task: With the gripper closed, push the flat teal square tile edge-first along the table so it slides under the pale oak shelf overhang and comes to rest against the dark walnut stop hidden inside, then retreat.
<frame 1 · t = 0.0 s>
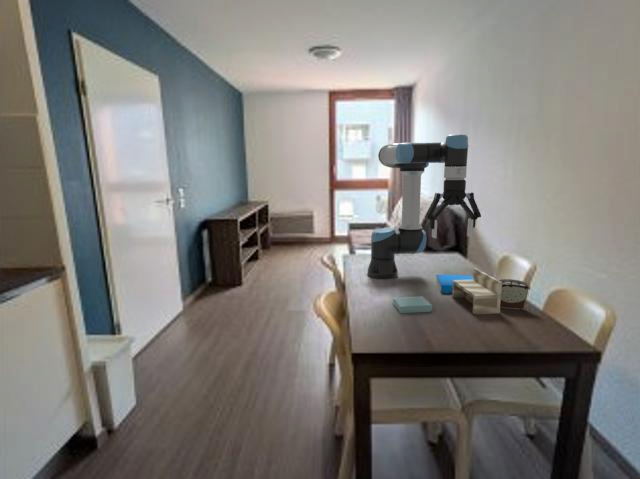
hand: (451, 237, 142), 28 cm above the table, fingers open, 13 cm apart
teal square tile: (411, 308, 149), on the table
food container: (509, 306, 150), on the table
shelf: (473, 304, 151), on the table
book: (467, 289, 172), on the table
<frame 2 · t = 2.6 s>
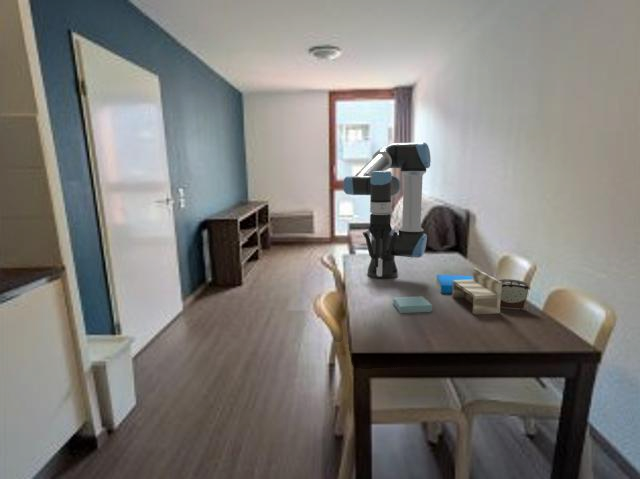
hand: (379, 275, 145), 14 cm above the table, fingers closed
nothing on the table moved.
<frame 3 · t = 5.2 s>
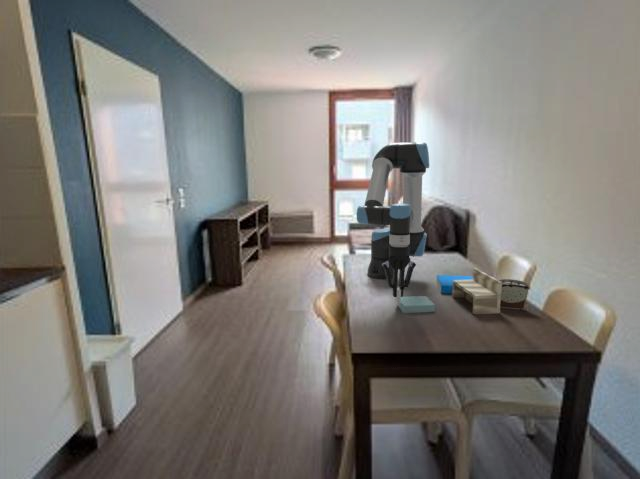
hand: (397, 304, 149), 1 cm above the table, fingers closed
teal square tile: (414, 308, 149), on the table
everything else where it was.
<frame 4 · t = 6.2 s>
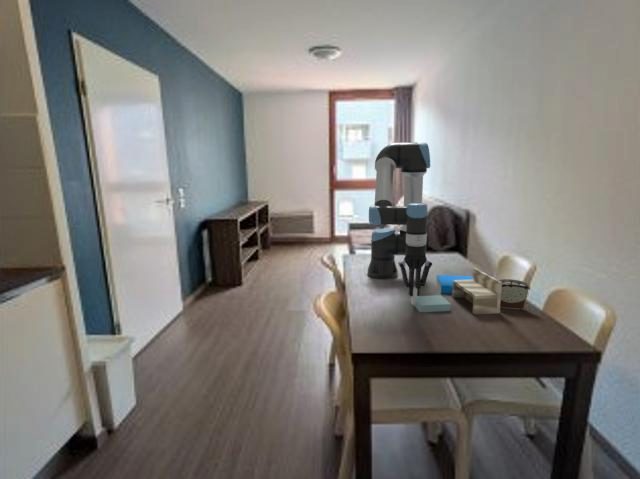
hand: (413, 303, 149), 1 cm above the table, fingers closed
teal square tile: (430, 307, 150), on the table, touching gripper
everything else where it was.
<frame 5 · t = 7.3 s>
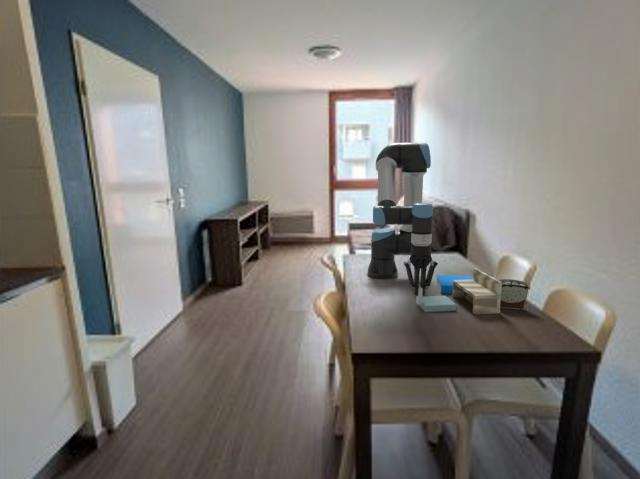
hand: (418, 303, 149), 1 cm above the table, fingers closed
teal square tile: (435, 307, 150), on the table
everything else where it was.
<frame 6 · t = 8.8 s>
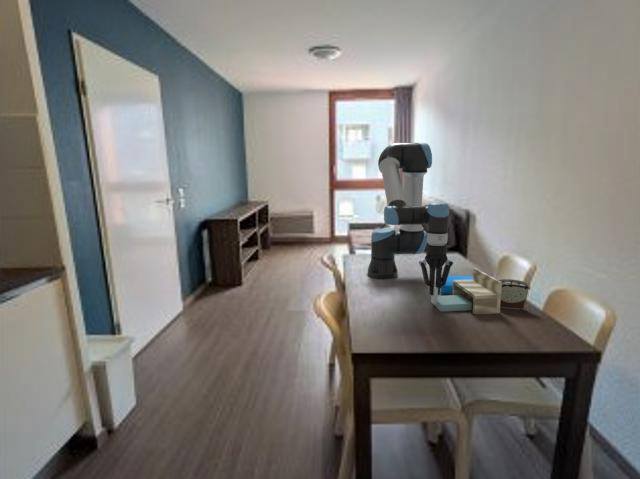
hand: (434, 302, 150), 1 cm above the table, fingers closed
teal square tile: (450, 307, 150), on the table, touching gripper
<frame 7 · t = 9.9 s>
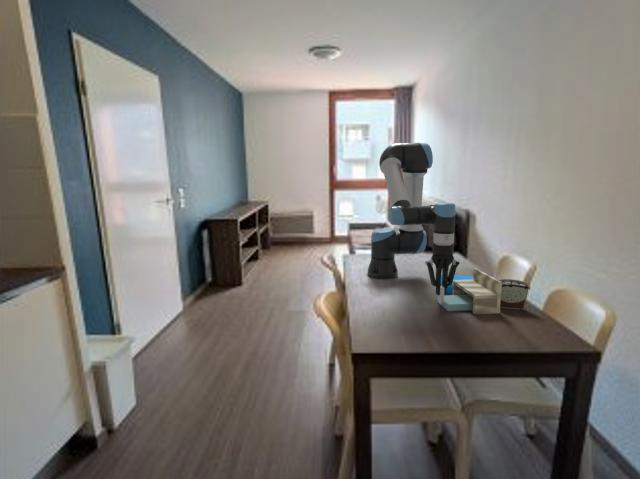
hand: (440, 302, 150), 1 cm above the table, fingers closed
teal square tile: (457, 306, 150), on the table
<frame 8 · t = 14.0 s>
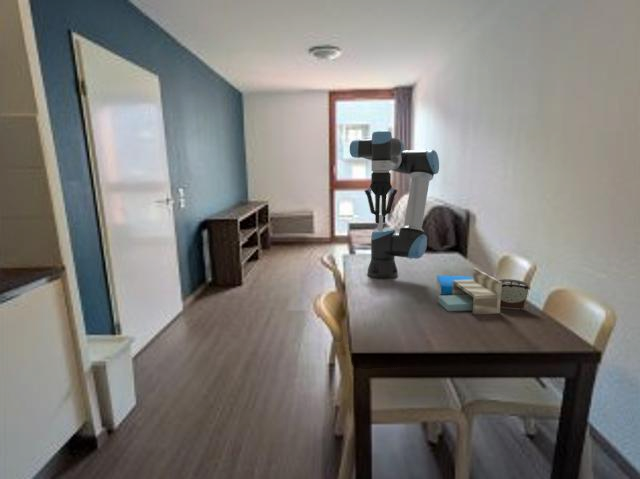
hand: (380, 231, 155), 28 cm above the table, fingers closed
at the end: teal square tile inside the target area (0.4 cm from its centre), on the table; teal square tile tilted 0° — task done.
